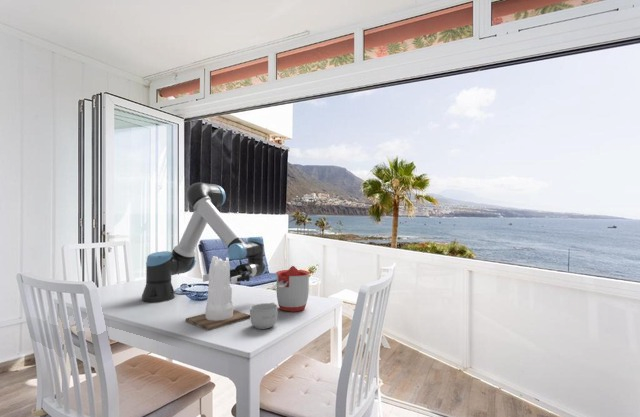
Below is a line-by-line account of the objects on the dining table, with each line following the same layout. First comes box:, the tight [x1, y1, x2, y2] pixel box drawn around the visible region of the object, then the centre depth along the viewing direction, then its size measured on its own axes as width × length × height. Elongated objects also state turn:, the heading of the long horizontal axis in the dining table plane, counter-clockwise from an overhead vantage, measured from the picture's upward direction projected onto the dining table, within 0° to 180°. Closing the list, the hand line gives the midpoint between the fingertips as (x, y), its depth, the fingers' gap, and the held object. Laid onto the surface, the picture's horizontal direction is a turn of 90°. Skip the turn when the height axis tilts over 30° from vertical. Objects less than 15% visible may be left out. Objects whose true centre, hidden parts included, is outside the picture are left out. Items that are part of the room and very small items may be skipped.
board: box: [185, 309, 250, 331], centre depth 137 cm, size 16×20×1 cm
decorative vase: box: [205, 255, 234, 321], centre depth 137 cm, size 11×11×25 cm
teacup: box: [249, 302, 278, 330], centre depth 131 cm, size 14×11×8 cm
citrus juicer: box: [275, 265, 310, 313], centre depth 154 cm, size 16×17×20 cm
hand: (217, 279), depth 136 cm, fingers open, 13 cm apart
